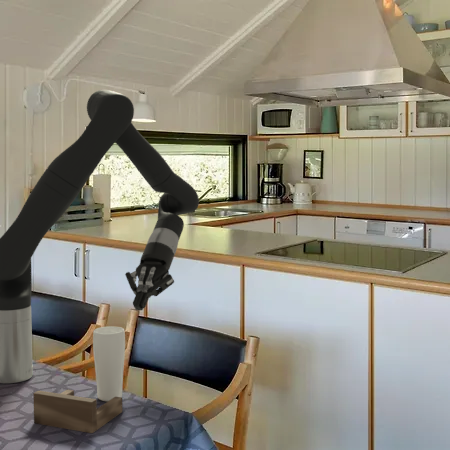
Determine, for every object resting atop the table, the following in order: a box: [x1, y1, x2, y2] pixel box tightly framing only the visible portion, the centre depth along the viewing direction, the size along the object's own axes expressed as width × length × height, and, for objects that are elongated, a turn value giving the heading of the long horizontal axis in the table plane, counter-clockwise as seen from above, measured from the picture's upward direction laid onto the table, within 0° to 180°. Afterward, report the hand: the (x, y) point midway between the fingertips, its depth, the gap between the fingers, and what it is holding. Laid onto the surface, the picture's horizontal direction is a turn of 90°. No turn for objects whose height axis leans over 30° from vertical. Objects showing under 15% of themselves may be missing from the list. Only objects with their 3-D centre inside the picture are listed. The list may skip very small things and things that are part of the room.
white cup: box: [92, 325, 126, 402], centre depth 132 cm, size 7×7×15 cm
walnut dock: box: [32, 389, 123, 434], centre depth 121 cm, size 11×13×6 cm
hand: (137, 308), depth 143 cm, fingers closed
